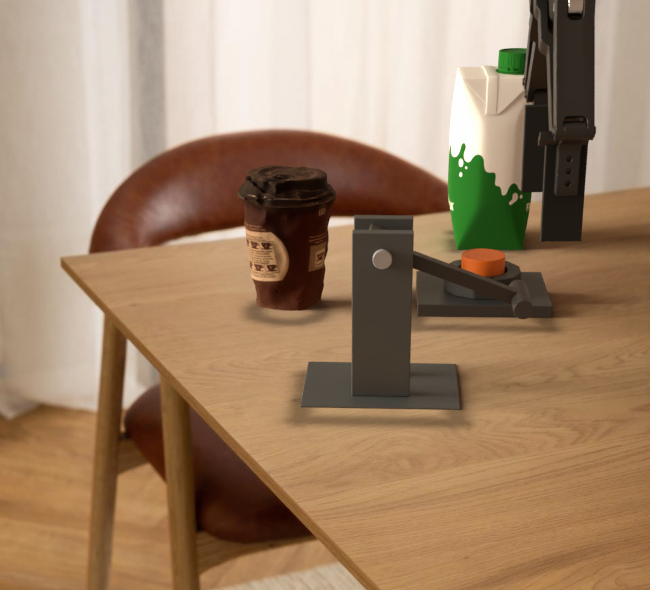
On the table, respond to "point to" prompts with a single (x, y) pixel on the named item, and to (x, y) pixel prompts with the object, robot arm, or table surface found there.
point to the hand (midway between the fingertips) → (548, 214)
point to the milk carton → (488, 155)
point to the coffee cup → (287, 234)
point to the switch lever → (475, 281)
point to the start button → (483, 262)
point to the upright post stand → (381, 332)
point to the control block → (478, 296)
